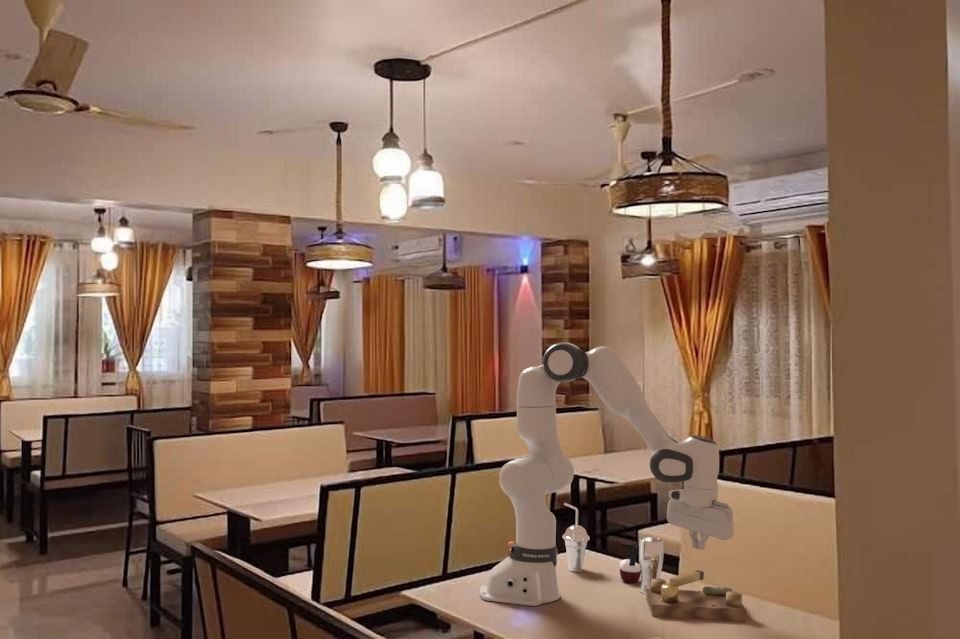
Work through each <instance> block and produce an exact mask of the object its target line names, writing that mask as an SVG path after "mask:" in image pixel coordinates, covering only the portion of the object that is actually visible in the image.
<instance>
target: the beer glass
mask: <svg viewBox="0 0 960 639" xmlns="http://www.w3.org/2000/svg"><path fill="white" fill-rule="evenodd" d="M664 555H665V554H664V539H662V538H661V537H657V536H642V537H639V544H638V562H639V563H638V564H640V570H641V575H640V578H641V579H640V585H639V592H640V593H641V594H644V595H646V588H651V579H656V578H657V579H661V574H662V569H663V564H664Z"/></svg>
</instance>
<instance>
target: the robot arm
mask: <svg viewBox="0 0 960 639" xmlns="http://www.w3.org/2000/svg"><path fill="white" fill-rule="evenodd" d="M580 378H582V379H585V380H586V381H587V382H588V383H589V384H590V385H591V386H592V388H593V389H594V391H595V393H596V394H597V396H598V397H599V398H600V400H601V401H602V402H603V403H604V405H605V406H606V407H607V408H608V409H609V410H610V411H611V412H612V413H613V414H614V415H617V416H620V417H621V418H623V419H625V420H627V421H628V422H630V423H631V425H633V427H634V428H635V429H636V431H637V432H638V434H639V435H640V436H641V438H642V439H643V440H644V442H645V443H646V445H647V446H648V448H649V450H650V454H651V458H650V461H649V470H650V472H651V474H652V475H653V477H654V478H655V479H656V480H659V481H660V482H662V483H667V484H668V483H669V484H670V483H680V482H683V484H684V486H683V487H681V488H677V489H672V490H669V491H668V497H669V500H668V503H667V508H666V509H667V510H666V520H667V522H668V524H670V525H674V526H676V527H679V528H683V529H686V530H688V534H689V537H690V539H691V547H692V548H695V549H698V550H700V551H702V550H703V551H704V550H705V548H706V543H707V541H708V540H709V537H712V538H716V539H717V540H722V541H727V540H731V539H732V538H733V537H734V532H735V530H734V518H733V509H732V507H730V506H729V504H728V503H726V502H725V503H724V502H721V501H718V498H719V497H718V496H719V484H718V477H719V476H718V475H719V473H720V450H719V447H718V444H717V443H716V441H714V440H713V439H711V438H709V437H705V436H702V435H697V434H695V435H693V434H692V435H690V436H688V437H686V438H685V439H683V440H681V441H677V440H675V439H674V438H672V437H671V436H669V435H668V432H666V431H665V429H664V428H663V427H662V425H661V424H660V422H659V421H658V419H657V417H656V416H655V415H654V413H653V412H652V410H651V408H650V407H649V405H648V403H647V400H646V398H645V396H644V393H643V391H642V388H641V387H640V385H639V383H638V381H637V379H636V377H635V376H634V374H633V373H632V372H631V370H630V369H629V367H628V366H627V365H626V363H625V362H624V361H623V360H622V359H621V358H620V356H619V355H617V353H616V352H615V351H614V350H613V349H612V348H610V347H609V346H604V345H603V346H602V345H601V346H597V347H594V348H592V349H591V350H588V351H584V350H582V349H581V348H580V347H579V346H578V345H576V344H573V343H571V342H567V341H561V342H557V343H555V344H553V345H551V346H549V347H548V348H547V350H546V351H545V352H544V355H543V358H542V364H541V365H538V366H530V367H527V368H525V369H524V370H522V372H520V374H519V378H518V384H517V391H516V432H517V435H518V437H519V438H520V439H521V440H523V441H524V443H525V445H526V447H527V450H528V456H524V457H523V456H522V457H517V458H515V459H512V460H510V461H509V462H506V463H505V464H504V465H502V467H501V469H500V471H499V476H498V477H499V478H498V482H499V485H500V488H501V489H502V491H503V493H504V494H505V495H506V496H507V497H508V498H509V499H510V501H511V504H512V505H513V509H514V513H515V514H514V515H515V525H516V526H515V528H516V530H515V531H516V532H515V533H516V534H515V542H514V541H511V540H510V541H509V542H508V544H507V549H508V556H507V557H506V558H504V559H503V560H502V561H500V562H499V563H498V564H496V565H495V566H494V567H492V568H491V570H490V573H489V576H488V579H487V582H485V583H484V584H482V585H481V586H480V588H479V597H480V598H481V599H482V600H484V601H489V602H491V601H492V602H497V603H507V604H514V605H523V606H524V605H525V606H533V607H536V606H541V604H546V603H552V602H555V601H557V600H559V599H560V598H561V593H560V590H559V586H558V579H557V578H558V577H557V564H558V546H557V544H556V537H557V534H556V532H557V527H556V526H557V520H556V519H557V518H556V516H555V515H554V513H553V512H551V511H550V510H549V509H548V506H547V503H546V495H547V494H554V493H558V492H559V491H562V490H563V489H566V488H567V487H569V486H570V485H571V484H572V482H573V480H574V477H575V468H574V465H573V463H572V462H571V460H570V459H569V458H568V457H567V456H566V455H565V453H564V452H563V449H562V446H561V445H560V440H559V437H558V430H557V429H558V428H557V402H556V400H557V397H556V396H557V394H556V393H557V389H558V386H559V385H560V384H563V383H567V382H572V381H575V380H577V379H580ZM698 534H699V538H700V539H699V538H698Z"/></svg>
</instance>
